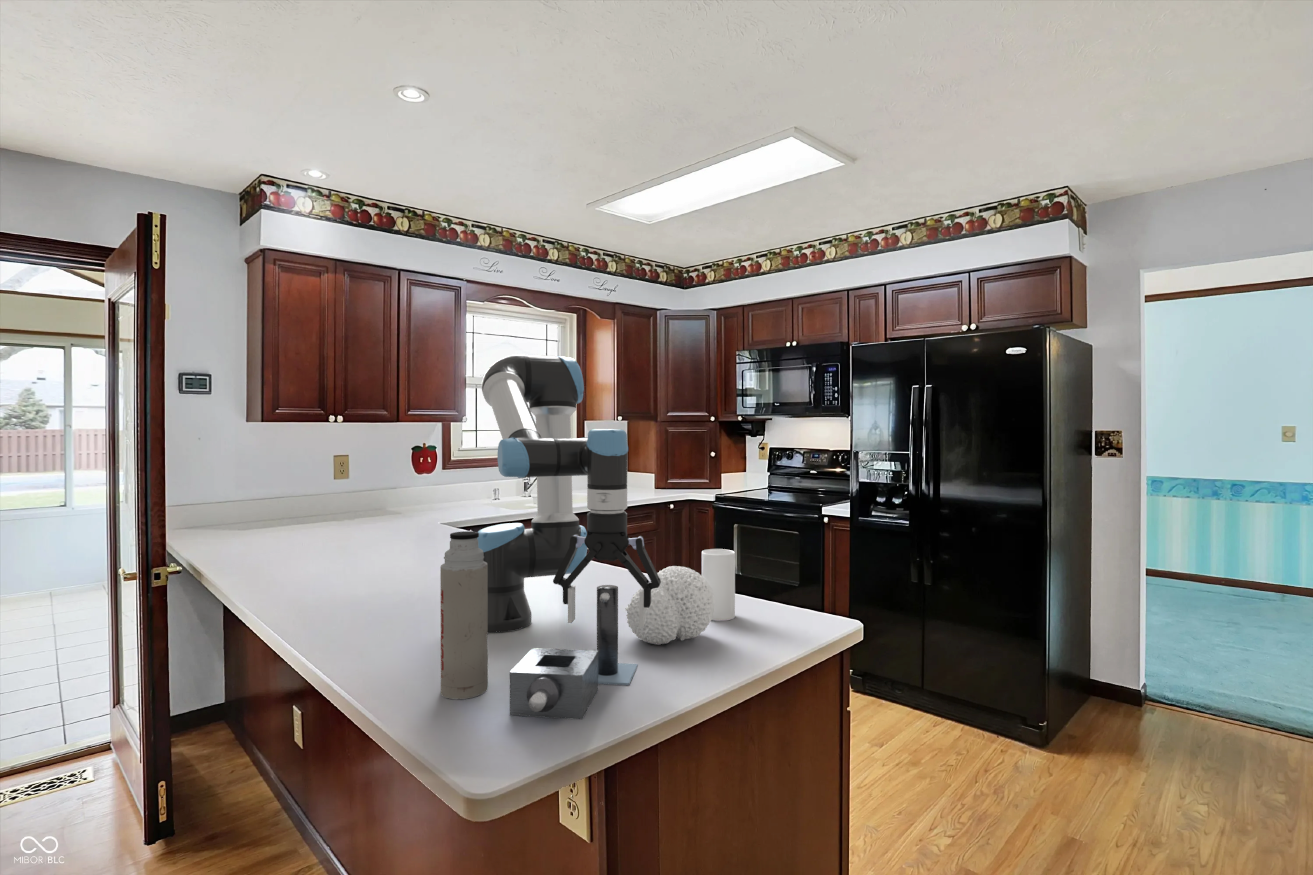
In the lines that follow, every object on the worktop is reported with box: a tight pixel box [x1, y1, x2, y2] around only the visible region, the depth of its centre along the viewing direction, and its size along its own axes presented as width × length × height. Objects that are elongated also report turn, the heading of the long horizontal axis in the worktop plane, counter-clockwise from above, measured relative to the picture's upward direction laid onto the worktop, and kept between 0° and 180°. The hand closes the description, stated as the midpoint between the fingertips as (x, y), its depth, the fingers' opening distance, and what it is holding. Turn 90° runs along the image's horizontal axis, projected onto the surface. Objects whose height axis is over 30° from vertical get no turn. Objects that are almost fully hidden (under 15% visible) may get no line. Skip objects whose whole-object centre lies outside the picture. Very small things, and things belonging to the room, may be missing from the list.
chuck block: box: [509, 647, 599, 720], centre depth 110 cm, size 12×17×7 cm
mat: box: [598, 662, 638, 686], centre depth 126 cm, size 10×10×1 cm
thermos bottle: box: [440, 530, 489, 700], centre depth 118 cm, size 8×8×28 cm
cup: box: [701, 548, 736, 622], centre depth 165 cm, size 8×8×16 cm
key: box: [596, 584, 619, 676], centre depth 126 cm, size 7×4×16 cm, turn 173°
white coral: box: [625, 565, 714, 646], centre depth 147 cm, size 20×18×16 cm
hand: (606, 622), depth 126 cm, fingers open, 13 cm apart
